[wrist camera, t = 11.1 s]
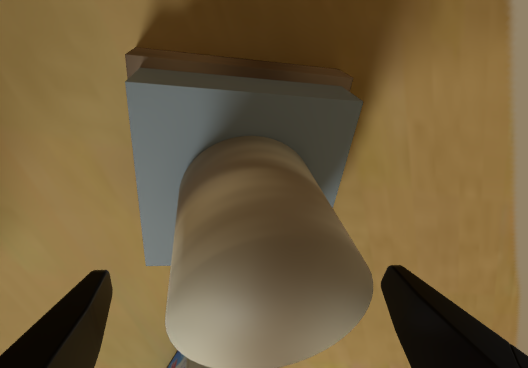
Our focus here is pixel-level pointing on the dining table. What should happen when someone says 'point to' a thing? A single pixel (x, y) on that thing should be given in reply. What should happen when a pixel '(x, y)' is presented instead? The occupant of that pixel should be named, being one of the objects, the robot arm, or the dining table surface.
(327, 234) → the birch cylinder
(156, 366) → the dining table surface
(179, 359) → the medicine box
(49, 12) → the dining table surface
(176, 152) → the slate top slab
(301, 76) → the walnut base slab
